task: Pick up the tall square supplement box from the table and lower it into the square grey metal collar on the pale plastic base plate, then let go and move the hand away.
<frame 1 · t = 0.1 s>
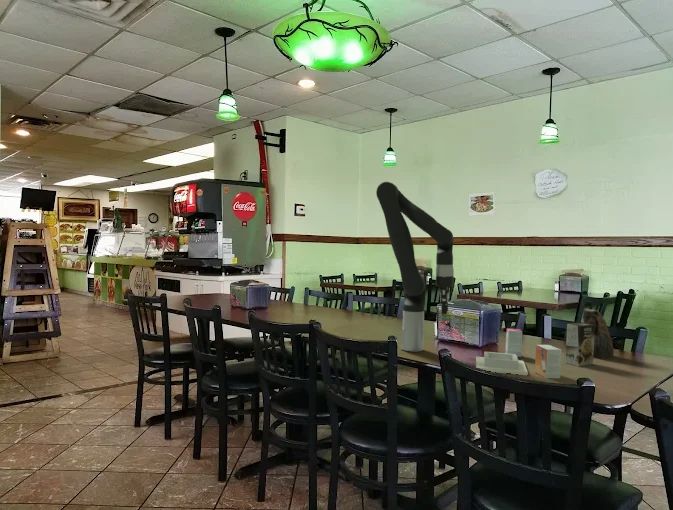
hand: (444, 312, 209), 17 cm above the table, tool pointing down, fingers open, 8 cm apart
small box: (547, 376, 176), on the table
supplement box: (512, 356, 205), on the table
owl: (598, 356, 210), on the table
collar socket: (500, 367, 186), on the table
coffee box: (579, 364, 195), on the table
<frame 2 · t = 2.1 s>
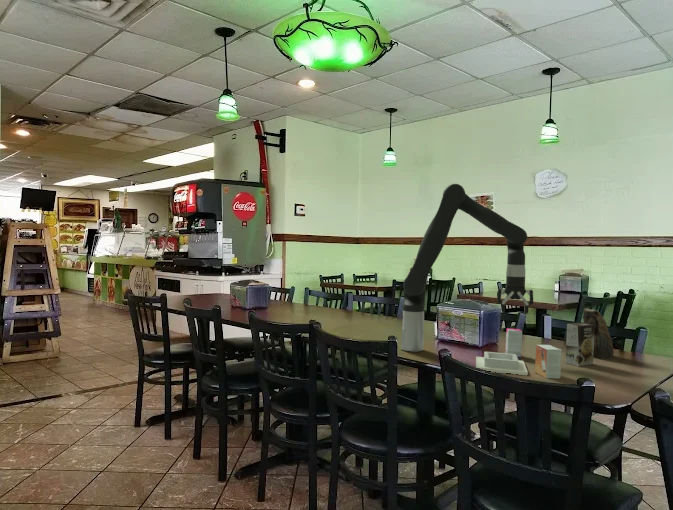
hand: (514, 313, 204), 18 cm above the table, tool pointing down, fingers open, 8 cm apart
nothing on the table moved.
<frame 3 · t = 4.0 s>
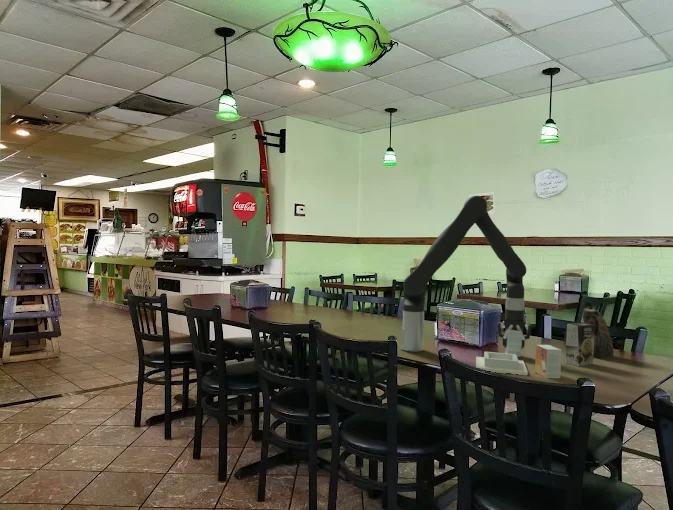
hand: (513, 347, 205), 4 cm above the table, tool pointing down, fingers closed on supplement box, 6 cm apart
supplement box: (512, 356, 205), on the table, touching gripper
everything else where it was.
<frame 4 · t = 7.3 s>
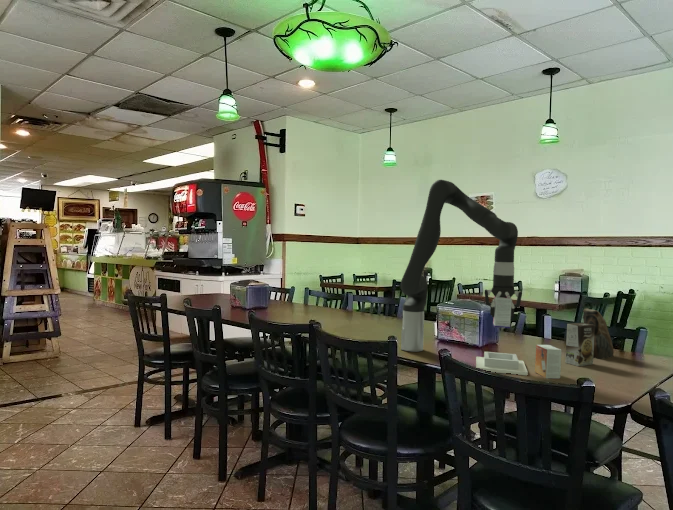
hand: (501, 317, 186), 19 cm above the table, tool pointing down, fingers closed on supplement box, 6 cm apart
supplement box: (501, 327, 186), point 15 cm above the table, touching gripper
everything else where it was.
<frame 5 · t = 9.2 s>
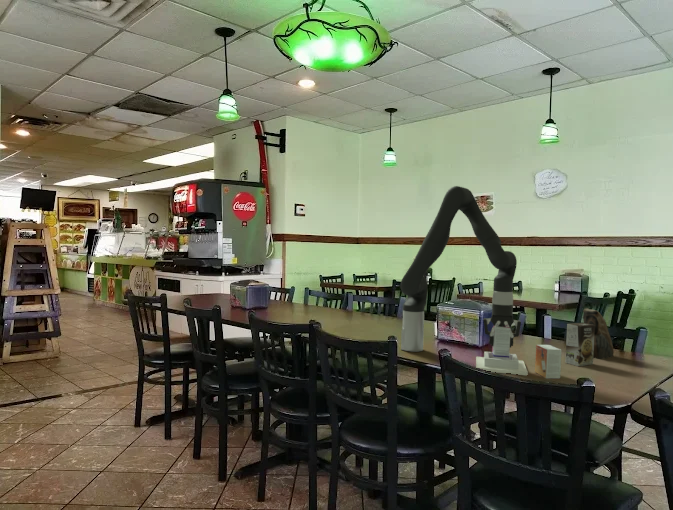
hand: (501, 346, 186), 8 cm above the table, tool pointing down, fingers closed on supplement box, 6 cm apart
supplement box: (500, 356, 186), point 4 cm above the table, touching gripper
everything else where it was.
when the fingers open (6 cm above the table, at t = 10.6 s): supplement box drops 1 cm, resting on collar socket.
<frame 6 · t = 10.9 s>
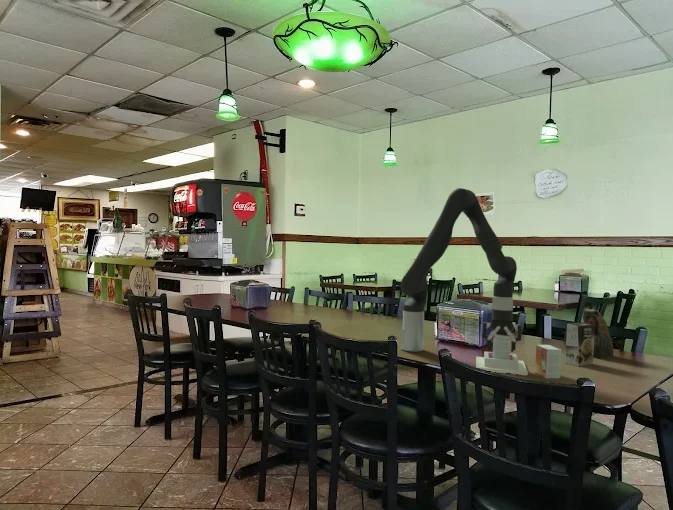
hand: (500, 350, 186), 7 cm above the table, tool pointing down, fingers open, 8 cm apart
supplement box: (500, 364, 186), point 1 cm above the table, touching collar socket
everything else where it was.
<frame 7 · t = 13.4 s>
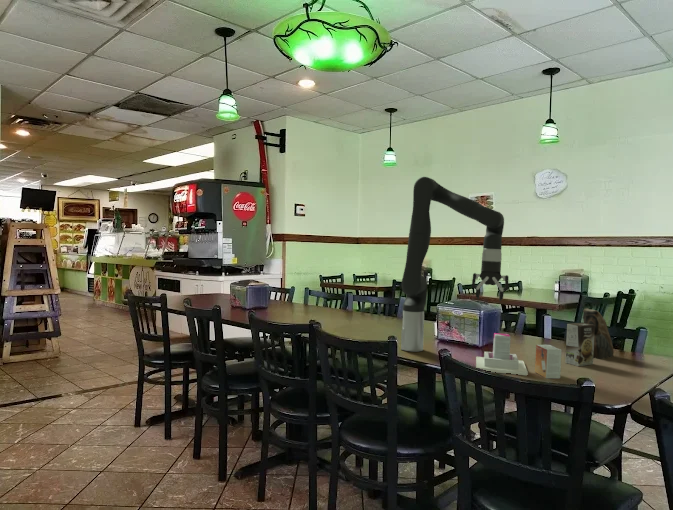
hand: (489, 299, 197), 25 cm above the table, tool pointing down, fingers open, 8 cm apart
nothing on the table moved.
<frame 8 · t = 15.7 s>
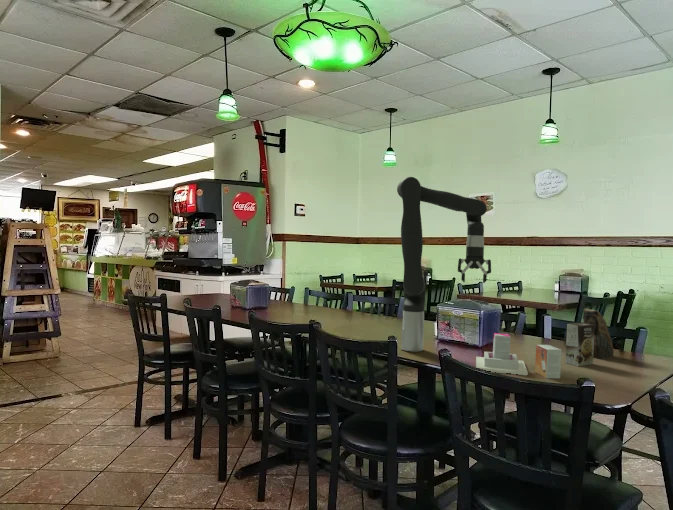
hand: (473, 282, 214), 30 cm above the table, tool pointing down, fingers open, 8 cm apart
nothing on the table moved.
at the end: supplement box 0.1 cm off-centre on the collar socket, point 1.0 cm above the collar socket's base; supplement box tilted 0°; the gripper is holding nothing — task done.
